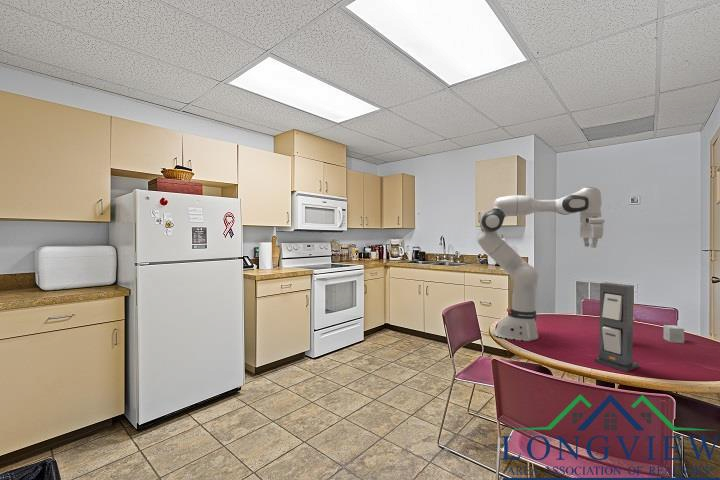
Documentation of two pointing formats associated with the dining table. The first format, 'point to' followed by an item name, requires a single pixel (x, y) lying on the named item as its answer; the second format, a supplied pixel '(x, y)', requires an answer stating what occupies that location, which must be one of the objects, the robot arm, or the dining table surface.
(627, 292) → the power strip
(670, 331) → the skincare box
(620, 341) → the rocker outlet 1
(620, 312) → the white rocker switch
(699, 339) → the dining table surface
